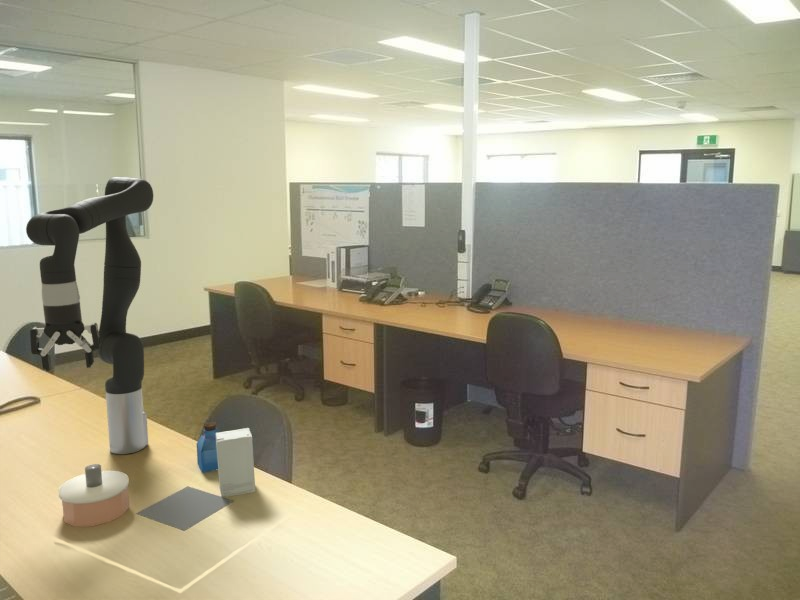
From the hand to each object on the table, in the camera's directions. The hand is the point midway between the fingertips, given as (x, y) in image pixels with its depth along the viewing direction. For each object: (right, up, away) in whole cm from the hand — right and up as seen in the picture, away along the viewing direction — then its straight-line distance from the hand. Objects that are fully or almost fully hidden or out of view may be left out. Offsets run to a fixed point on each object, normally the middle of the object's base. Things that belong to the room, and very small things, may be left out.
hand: (69, 368), depth 147 cm
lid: (+10, -26, -8) cm, 30 cm away
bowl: (+10, -32, -7) cm, 34 cm away
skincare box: (+39, -30, +3) cm, 49 cm away
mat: (+29, -31, -5) cm, 43 cm away
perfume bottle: (+29, -28, +16) cm, 43 cm away
